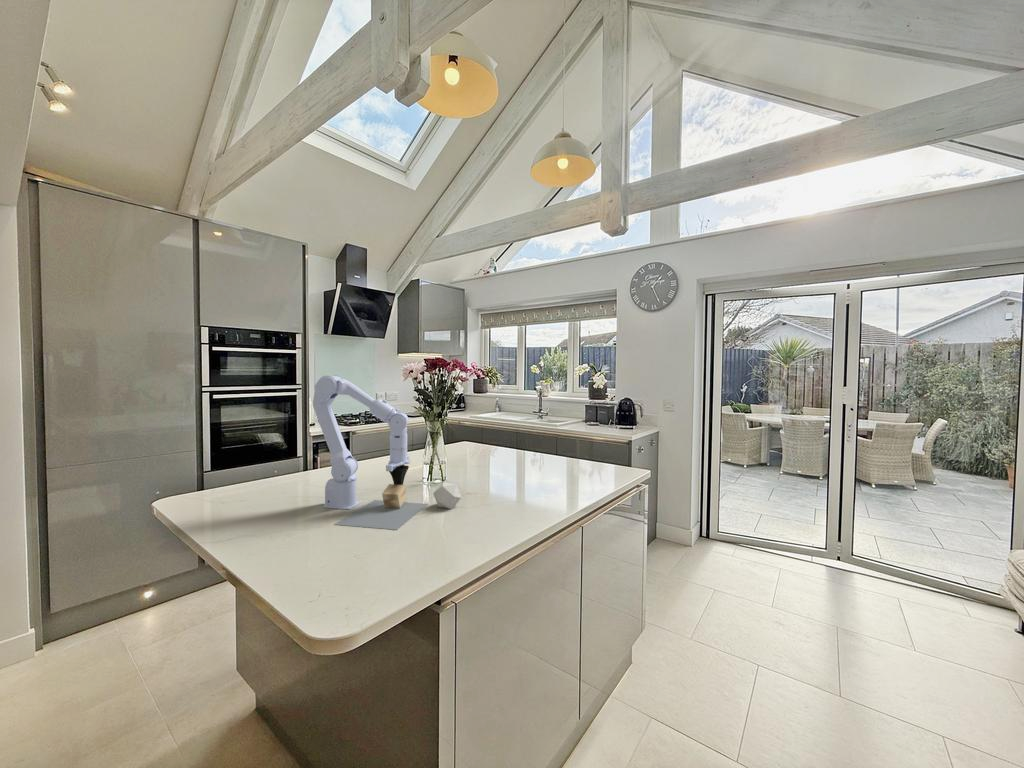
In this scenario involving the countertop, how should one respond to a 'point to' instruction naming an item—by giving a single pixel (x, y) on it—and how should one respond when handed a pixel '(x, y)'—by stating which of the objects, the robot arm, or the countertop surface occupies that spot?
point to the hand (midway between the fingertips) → (398, 487)
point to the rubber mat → (381, 516)
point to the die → (447, 495)
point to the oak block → (394, 496)
